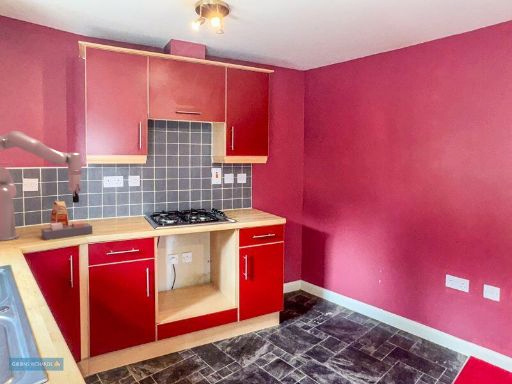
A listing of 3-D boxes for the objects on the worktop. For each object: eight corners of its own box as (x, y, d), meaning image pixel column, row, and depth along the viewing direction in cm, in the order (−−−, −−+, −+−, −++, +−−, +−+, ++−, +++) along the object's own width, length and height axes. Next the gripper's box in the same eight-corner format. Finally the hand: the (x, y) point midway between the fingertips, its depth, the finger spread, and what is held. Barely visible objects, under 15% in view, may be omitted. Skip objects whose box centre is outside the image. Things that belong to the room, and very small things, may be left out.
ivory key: (50, 231, 225) (49, 223, 225) (60, 230, 229) (60, 222, 228) (52, 233, 221) (52, 225, 220) (62, 232, 225) (62, 223, 224)
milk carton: (57, 232, 237) (55, 201, 234) (49, 230, 241) (47, 200, 239) (71, 229, 244) (69, 199, 242) (63, 227, 249) (61, 198, 247)
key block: (41, 236, 225) (41, 228, 224) (87, 230, 242) (86, 223, 241) (45, 240, 217) (45, 231, 216) (92, 233, 233) (92, 225, 233)
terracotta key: (71, 230, 233) (71, 222, 232) (81, 229, 237) (81, 221, 236) (74, 232, 229) (73, 224, 228) (84, 230, 232) (83, 223, 232)
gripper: (65, 172, 231) (66, 201, 234) (71, 173, 220) (72, 204, 222) (78, 171, 236) (78, 200, 238) (85, 173, 225) (85, 203, 227)
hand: (75, 202), depth 230 cm, fingers closed
